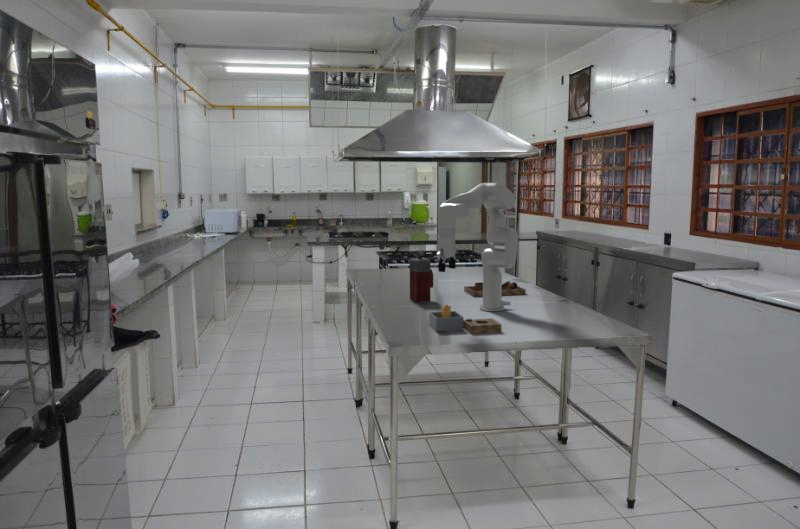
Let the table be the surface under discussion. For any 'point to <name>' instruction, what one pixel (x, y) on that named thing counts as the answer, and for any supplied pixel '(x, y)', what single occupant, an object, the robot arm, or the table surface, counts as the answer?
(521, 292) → the serving frame
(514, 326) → the table surface
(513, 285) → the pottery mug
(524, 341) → the table surface
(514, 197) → the robot arm
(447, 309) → the cylinder
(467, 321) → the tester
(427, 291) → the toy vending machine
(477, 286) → the cup and saucer
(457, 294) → the table surface
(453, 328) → the bin
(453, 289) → the table surface
